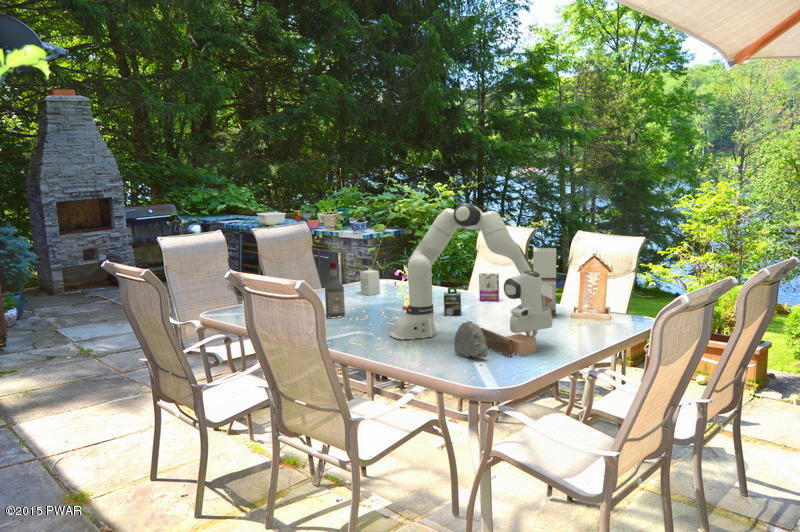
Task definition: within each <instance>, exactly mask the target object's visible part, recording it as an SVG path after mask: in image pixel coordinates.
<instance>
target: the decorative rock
mask: <svg viewBox="0 0 800 532" xmlns="http://www.w3.org/2000/svg"><path fill="white" fill-rule="evenodd" d="M457 328H458V330H457V331H456V332H455V334H454V335H455V336H454V342H453V343H454V353H456V354H459V355H461V356H463V357H465V358H467V357H468V358H467V359H470V358H469V357H472V356H473V357H474V358H487V355H488V348H487V345H486V339H485V337H484V334H483V332H482V330H481V328H482V327H481V326H480V325H478V324H476V323H474V322H473V321H469V320H468V321H466V322H463V323H461V324H460V325H459V326H458V327H457ZM473 357H472V358H473Z"/></svg>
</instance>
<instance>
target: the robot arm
mask: <svg viewBox="0 0 800 532" xmlns="http://www.w3.org/2000/svg"><path fill="white" fill-rule="evenodd" d="M460 228H463V229H465V230H469V231H473V232H475V231H476V232H477V231H480V232H481V234H482V237H483V239H484V241H485V245H486V247H487V248H488V249H489V251H490V252H492V253H494V254H496V255H499V256H503V257H506V258H508V259H510V261H512V262H513V263H514V266H515V267H516V269H517V271H518V273H519V274H518V275H516V276H513V277H509V278H507V279H506V280H505V281H504V284H503V293H504V294H505V296H506V297H507V298H508V299H510V300H517V299H518V300H519V299H520V304H519V305H517V306H516V307H513V308H512V309H511V310H510V313H511V314H512V315H511V316H510V319H509V329H510V332H511V333H514V334H522V333H525V335H527V336H530V337H534V338H536V337H537V335H538V331H539V330H545V329H550V328H552V327H553V318H552V315H551V309H550V308H549V307H542V300H541V295H542V280H541V276H540V274H539V273H537V272H535V271H533V266H531V263H530V262H529V260H528V258H527V256H526V255H525V253H524V251H523V249H522V248H521V245H519V244H518V243H517V242H516V241H515V240H514V239H513V237H512V235H510V232H509V231H508V229H507V226H506V224H505V222H504V220H503V219H502V217H501V215H500V214H499V212H497V211H495V210H489V211H485V212H484V211H483V210H482V209H480V208H479V207H478V206H476V205H473V204H471V203H467V202H466V203H465V202H464V203H460V204H458V205H457V206H456V207H455V209H453V208H449V207H448V208H445V209H443V210H442V211H441V212H440V213H439V214H438V216H436V218H435V219H434V221H433V222H432V224H431V225H430V227H429V228H428V230H427V231H426V233H425V234H424V236H423V238H422V239H421V240H420V242H419V243H418V245H417V246H416V248H415V249H414V251H413V252H412V254H411V255H410V257H409V260H408V263H407V277H408V278H407V280H408V302H409V304H408V306H406V305H403V306H402V307H401V309H402V310H403V311H406V312H405V314H404V315H402V316H401V317H400V318H399V319H398V320H396V322H395V324H394V328H393V329H394V330H393V331H390V332H389V336H390V337H391V336H392V337H393V339H394V338H396V339H395V340H397V339H401V340H400V341H404V340H403V339H412V340H415V339H414V338H422V339H427V338H426V337H431V338H433V337H432V336H435V335H436V334H437V330H436V326H435V321H434V320H435V319H434V314H435V313H434V304H433V279H432V278H433V275H432V267H433V265H434V264H435V262H436V261H437V259H438V258H439V257H440V255H441V254H442V253H443V251H444V250H445V248H446V247H447V246H448V244H449V242H450V241H451V240H452V237H454V235H455V233H456V231H458V229H460ZM392 337H391V338H392Z"/></svg>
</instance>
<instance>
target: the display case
mask: <svg viewBox="0 0 800 532" xmlns="http://www.w3.org/2000/svg"><path fill="white" fill-rule="evenodd" d="M532 253H533V254H532V255H533V256H532V261H533V262H532V265H533V266H532V269H533V271H535V272H537V273H539V274H540V276H541V280H542V295H541V300H542V307H549V308H550V309H551V315H552V319H556V318H557V312H556V311H557V306H556V305H557V304H556V303H557V248H556V247H555V248H553V247H552V248H550V247H549V248H546V247H545V248H543V247H541V248H535V247H534V248H533V252H532Z"/></svg>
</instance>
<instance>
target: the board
mask: <svg viewBox="0 0 800 532" xmlns="http://www.w3.org/2000/svg"><path fill="white" fill-rule="evenodd" d="M480 328H481V330H482V332H483V334H484V337H485V339H486V345H487V347H489V348H492V349H494V350H496V351H498V352H501V353H503V354H505V355H507V356H509V355H512V356H513V354H512V340H511V339H509V338H506V337H507V336H504V335H501V334H499V333H496V332H494V331H491V330H489V329H487V328H483V327H480ZM489 348H488V349H489ZM492 349H491V350H492ZM494 350H493V351H494ZM496 351H495V352H496ZM498 352H497V353H498ZM501 353H500V354H501ZM503 354H502V355H503ZM505 355H504V356H505ZM507 356H506V357H507ZM509 357H510V356H509Z"/></svg>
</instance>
